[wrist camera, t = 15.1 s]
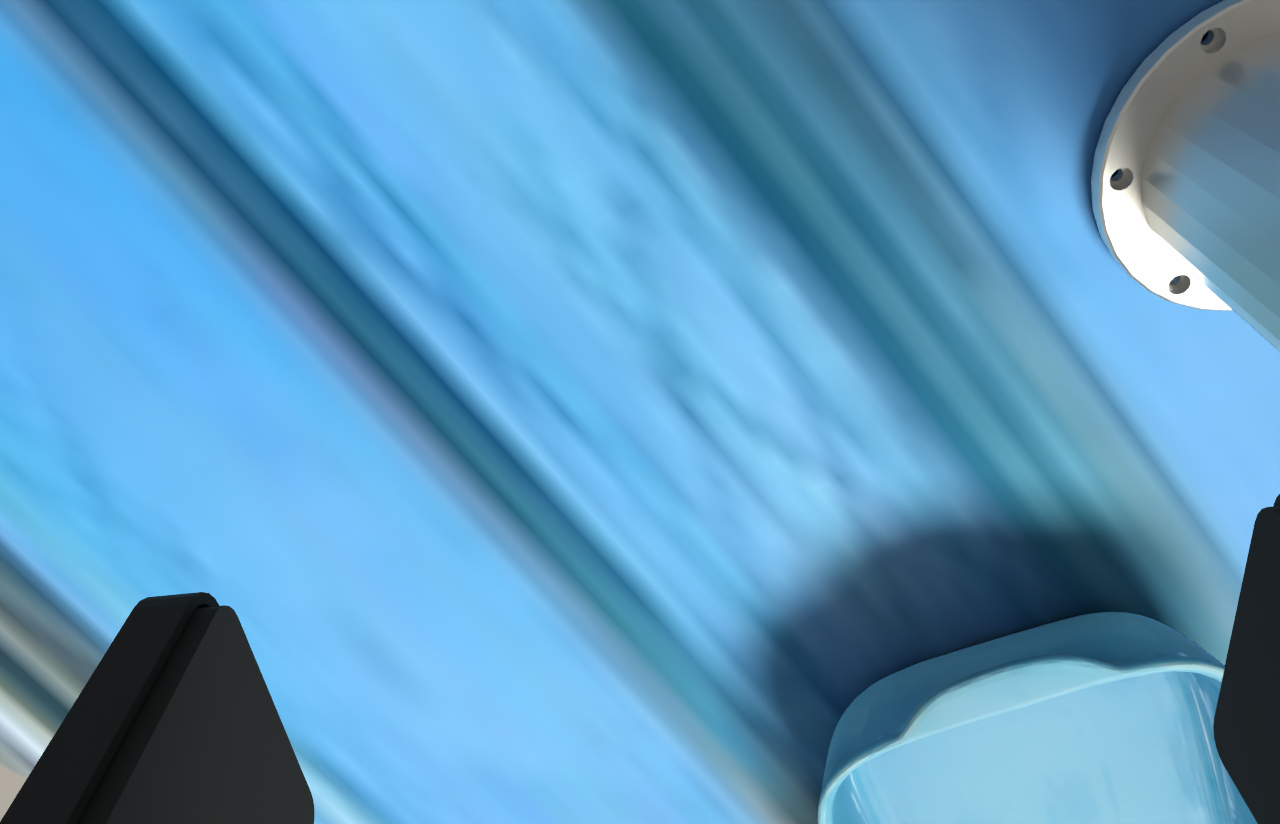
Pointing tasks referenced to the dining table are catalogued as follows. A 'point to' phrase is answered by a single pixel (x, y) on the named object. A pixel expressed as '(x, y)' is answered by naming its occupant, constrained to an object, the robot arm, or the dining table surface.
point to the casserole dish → (1039, 733)
